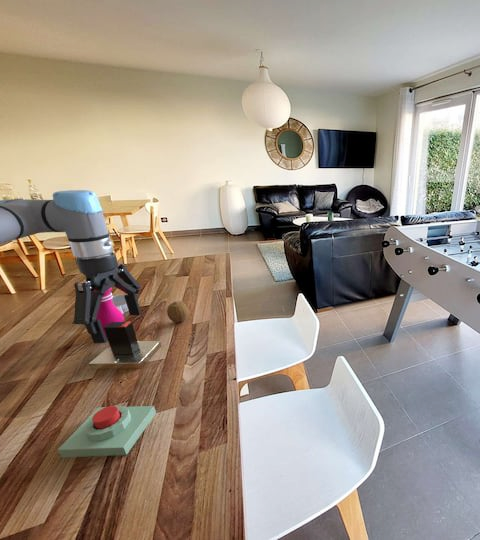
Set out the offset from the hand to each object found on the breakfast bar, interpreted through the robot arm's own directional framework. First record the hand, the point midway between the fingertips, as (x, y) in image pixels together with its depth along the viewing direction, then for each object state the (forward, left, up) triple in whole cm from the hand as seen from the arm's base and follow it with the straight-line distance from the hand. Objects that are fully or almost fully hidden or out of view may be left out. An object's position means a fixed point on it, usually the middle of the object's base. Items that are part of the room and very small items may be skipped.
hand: (119, 327), depth 79 cm
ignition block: (+13, -25, -10) cm, 30 cm away
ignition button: (+13, -25, -7) cm, 29 cm away
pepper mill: (-13, +13, -10) cm, 21 cm away
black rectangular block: (0, 0, -8) cm, 8 cm away
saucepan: (-19, +25, -10) cm, 33 cm away
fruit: (+5, +19, -10) cm, 22 cm away
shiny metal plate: (0, 0, -10) cm, 10 cm away
